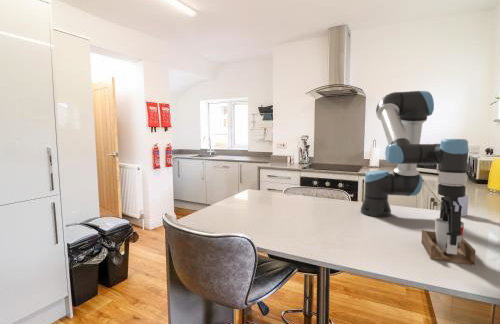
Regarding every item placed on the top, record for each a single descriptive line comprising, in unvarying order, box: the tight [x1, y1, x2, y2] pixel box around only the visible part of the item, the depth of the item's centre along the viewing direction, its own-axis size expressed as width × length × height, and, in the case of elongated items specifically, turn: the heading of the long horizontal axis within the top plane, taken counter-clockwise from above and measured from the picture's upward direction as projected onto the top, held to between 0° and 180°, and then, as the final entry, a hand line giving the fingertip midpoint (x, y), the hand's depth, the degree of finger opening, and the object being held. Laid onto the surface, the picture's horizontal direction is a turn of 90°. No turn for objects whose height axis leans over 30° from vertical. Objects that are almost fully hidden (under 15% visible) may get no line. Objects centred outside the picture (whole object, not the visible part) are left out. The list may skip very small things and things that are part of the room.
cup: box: [434, 217, 465, 251], centre depth 94 cm, size 8×8×10 cm
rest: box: [421, 229, 476, 266], centre depth 97 cm, size 12×16×5 cm
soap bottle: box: [458, 193, 469, 218], centre depth 144 cm, size 9×9×25 cm
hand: (448, 248), depth 94 cm, fingers closed on cup, 8 cm apart
